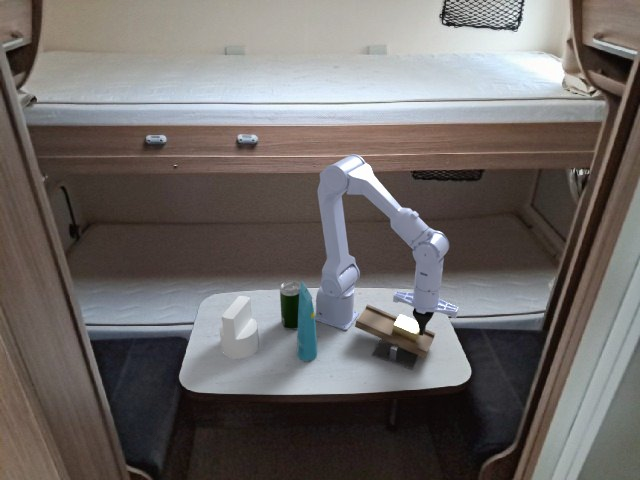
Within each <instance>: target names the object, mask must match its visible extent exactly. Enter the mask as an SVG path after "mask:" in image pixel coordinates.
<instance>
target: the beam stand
mask: <svg viewBox="0 0 640 480" xmlns="http://www.w3.org/2000/svg"><path fill="white" fill-rule="evenodd" d="M371 357H374V358H377V359H380V360H383V361H386V362H389V363H391V364H394V365H398V366H400V367H402V368H405V369H409V370H412V371H413V369H414V367H415V365H416V363H417V360H418V358H419V357H420V356H419V355H417V354H414V353H412V352H410V351H408V350H405V349H403V348H401V347H399V346H396V345H394V344H392V343H390V342H388V341H385V340H383V339H381V338H380V340H379V342H378V344H377V345H376V346H375V348H374V350H373V351H372V354H371Z"/></svg>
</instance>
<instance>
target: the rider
mask: <svg viewBox="0 0 640 480" xmlns="http://www.w3.org/2000/svg"><path fill="white" fill-rule="evenodd" d="M397 317H398V319H397V320H396V322H395V324H394V326H393V330H392V333H391V334H394V335H396V336H398V337H401V338H403V339H405V340H407V341H410V342H412V343H414V344H415V343H416V341H417V339H418V337H419V327H418V324H417V321H416V319H413V318H410V317H408V316H406V315H403V314H399V316H397Z"/></svg>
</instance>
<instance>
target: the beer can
mask: <svg viewBox="0 0 640 480" xmlns="http://www.w3.org/2000/svg"><path fill="white" fill-rule="evenodd" d="M300 284H301V283H300V282H297V281H296V280H295V281H294V280H287V281H284V282H282V284H280V289H279V297H280V301H279V302H280V318H281V319H280V320H281V325H282V327H283V328H284V329H285V330H286V331H287V330H289V331H295V330H298V308H299V293H300Z"/></svg>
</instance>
